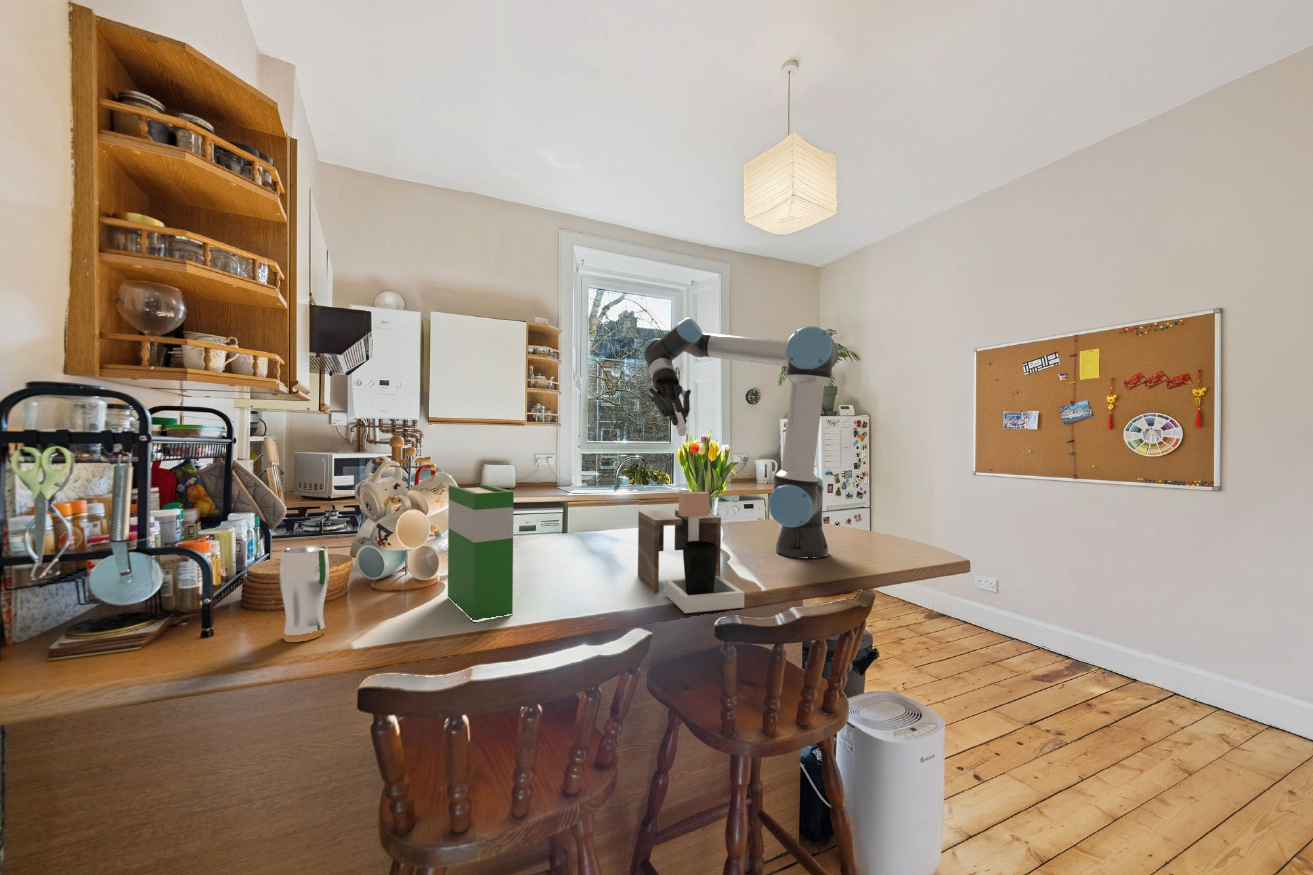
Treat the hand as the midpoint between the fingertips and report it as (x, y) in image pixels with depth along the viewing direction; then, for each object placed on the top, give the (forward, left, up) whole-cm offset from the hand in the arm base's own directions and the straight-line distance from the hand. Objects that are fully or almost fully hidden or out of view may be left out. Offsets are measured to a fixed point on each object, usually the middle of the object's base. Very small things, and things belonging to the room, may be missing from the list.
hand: (683, 432), depth 137 cm
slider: (+6, +30, -36) cm, 47 cm away
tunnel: (+6, +14, -36) cm, 39 cm away
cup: (+6, +28, -36) cm, 46 cm away
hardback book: (+51, +20, -36) cm, 66 cm away
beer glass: (+79, +28, -36) cm, 91 cm away
